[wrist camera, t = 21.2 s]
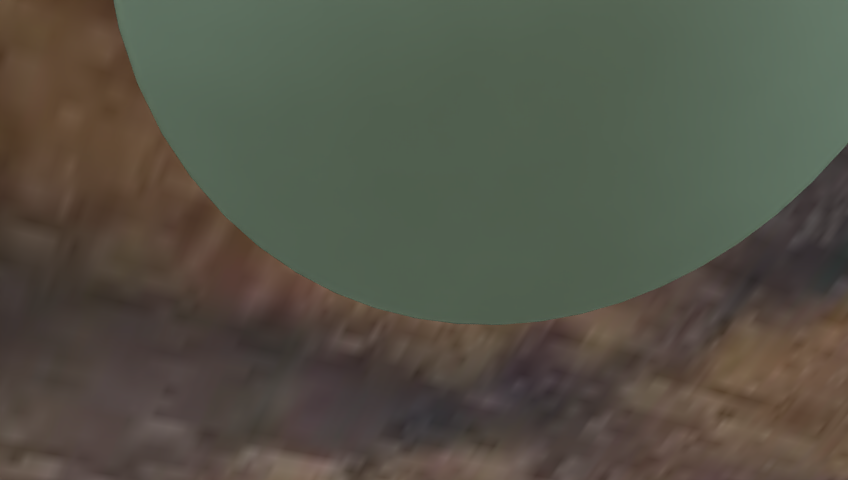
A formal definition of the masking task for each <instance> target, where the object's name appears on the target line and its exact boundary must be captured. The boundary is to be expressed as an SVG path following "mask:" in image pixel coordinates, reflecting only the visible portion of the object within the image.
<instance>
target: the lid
mask: <svg viewBox="0 0 848 480" xmlns="http://www.w3.org/2000/svg"><path fill="white" fill-rule="evenodd" d="M113 1H114V6H115V11H116V16H117V21H118V27H119V30H120V33H121V36H122V39H123V42H124V45H125V48H126V51H127V54H128V57H129V60H130V63H131V66H132V69H133V72H134V75H135V78H136V81H137V83H138V85H139V88H140V90H141V92H142V94H143V96H144V98H145V100H146V102H147V104H148V106H149V108H150V110H151V112H152V114H153V116H154V118H155V120H156V122H157V124H158V126H159V129H160V131H161V133H162V134H163V136H164V137H165V139H166V140H167V142H168V143H169V145H170V146H171V148H172V149H173V151H174V152H175V154H176V155H177V157H178V158H179V160H180V161H181V163H182V164H183V166H184V167H185V169H186V170H187V172H188V173H189V175H190V176H191V178H192V179H193V180H194V181H195V182H196V183H197V184H198V186H199V187H200V188H201V189H202V190H203V191H204V193H205V194H206V195H207V196H208V197H209V198H210V200H211V201H212V202H213V203H214V204H215V205H216V206H217V208H218V209H219V210H220V211H221V212H222V213H223V215H224V216H225V217H227V218H228V219H229V220H230V221H231V222H232V223H233V224H234V225H235V226H237V227H238V228H239V229H240V230H241V231H242V232H243V233H244V234H246V235H247V236H248V237H249V238H250V239H251V240H252V241H253V242H254V243H256V244H257V245H258V246H259V247H260V248H262V249H263V250H265V251H266V252H267V253H269V254H270V255H272V256H273V257H275V258H276V259H278V260H279V261H281V262H282V263H283V264H285V265H286V266H288V267H289V268H291V269H292V270H294V271H295V272H296V273H298V274H300V275H302V276H304V277H306V278H308V279H310V280H312V281H314V282H316V283H317V284H319V285H321V286H323V287H325V288H327V289H329V290H331V291H333V292H335V293H337V294H340V295H342V296H345V297H348V298H350V299H353V300H355V301H358V302H361V303H363V304H366V305H369V306H371V307H374V308H377V309H381V310H385V311H389V312H393V313H397V314H401V315H405V316H409V317H413V318H418V319H426V320H433V321H441V322H448V323H455V324H488V325H502V324H514V323H527V322H539V321H545V320H551V319H556V318H561V317H567V316H572V315H578V314H582V313H586V312H589V311H593V310H596V309H600V308H603V307H607V306H610V305H614V304H617V303H621V302H624V301H626V300H629V299H631V298H634V297H636V296H639V295H641V294H644V293H647V292H649V291H652V290H654V289H657V288H659V287H662V286H664V285H666V284H668V283H670V282H672V281H674V280H676V279H678V278H680V277H682V276H684V275H686V274H688V273H690V272H692V271H694V270H696V269H698V268H699V267H701V266H703V265H705V264H706V263H708V262H709V261H711V260H713V259H714V258H716V257H717V256H719V255H721V254H722V253H724V252H725V251H727V250H729V249H730V248H732V247H733V246H735V245H737V244H738V243H740V242H741V241H742V240H744V239H745V238H746V237H748V236H749V235H750V234H752V233H753V232H754V231H756V230H757V229H758V228H760V227H761V226H762V225H764V224H765V223H766V222H767V221H769V220H770V219H771V218H773V217H774V216H775V215H777V214H778V213H779V212H780V211H781V210H782V209H783V208H784V207H785V206H787V205H788V204H789V203H790V202H791V201H792V200H793V199H794V198H795V197H796V196H798V195H799V194H800V193H801V192H802V191H803V190H804V189H805V188H806V187H807V186H809V185H810V184H811V183H812V182H813V181H814V180H815V179H816V177H817V176H818V175H819V174H820V173H821V172H822V171H823V170H824V169H825V168H826V167H827V166H828V164H829V163H830V162H831V161H832V160H833V159H834V158H835V157H836V156H837V155H838V154H839V152H840V151H841V150H842V149H843V148H844V147H845V146H846V145H847V143H848V0H113Z"/></svg>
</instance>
